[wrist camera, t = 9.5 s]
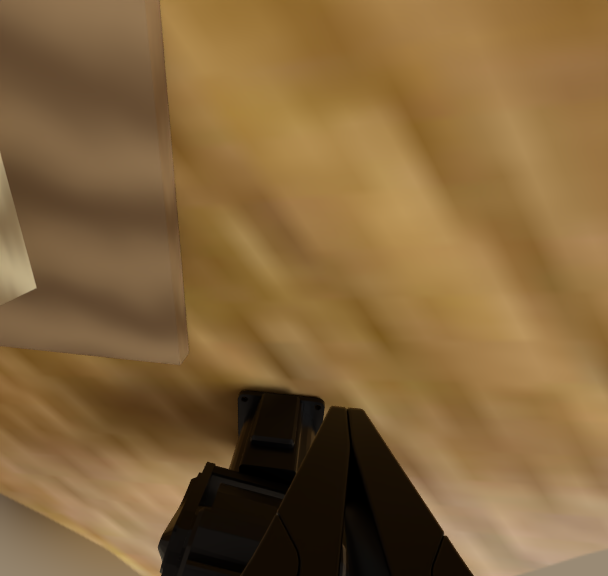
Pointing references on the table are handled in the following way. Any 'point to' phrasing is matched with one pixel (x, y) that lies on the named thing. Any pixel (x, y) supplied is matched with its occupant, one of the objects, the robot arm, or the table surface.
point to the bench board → (91, 179)
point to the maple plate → (12, 248)
